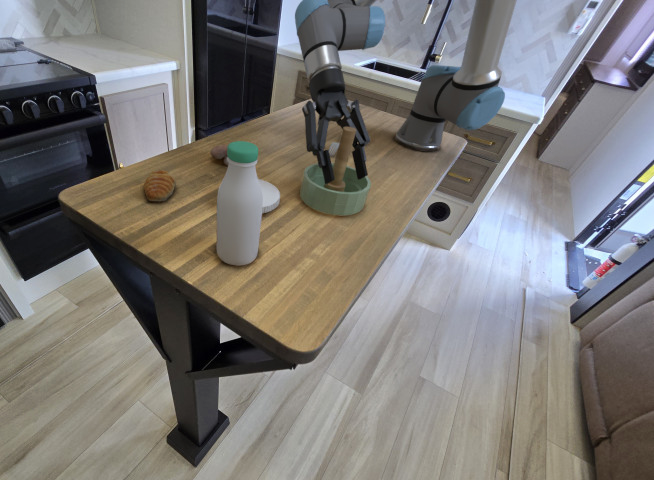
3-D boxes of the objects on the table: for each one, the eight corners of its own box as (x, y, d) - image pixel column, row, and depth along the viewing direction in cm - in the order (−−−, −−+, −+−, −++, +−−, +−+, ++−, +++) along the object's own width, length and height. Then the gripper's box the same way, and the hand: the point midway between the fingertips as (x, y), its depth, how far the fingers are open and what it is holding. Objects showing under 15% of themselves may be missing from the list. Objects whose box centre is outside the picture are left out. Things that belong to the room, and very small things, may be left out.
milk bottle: (265, 258, 62) (279, 152, 48) (230, 272, 59) (234, 160, 45) (243, 237, 66) (250, 133, 52) (209, 248, 63) (206, 139, 49)
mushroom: (244, 167, 89) (241, 148, 93) (235, 149, 84) (232, 130, 88) (219, 177, 91) (217, 158, 95) (208, 160, 86) (207, 141, 90)
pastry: (172, 205, 72) (170, 188, 70) (140, 203, 71) (137, 187, 69) (176, 184, 79) (175, 169, 76) (147, 183, 78) (145, 167, 75)
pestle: (327, 191, 83) (344, 123, 72) (344, 198, 81) (364, 129, 70) (318, 198, 80) (334, 128, 69) (335, 205, 78) (355, 134, 67)
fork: (349, 144, 116) (351, 136, 114) (333, 157, 100) (336, 147, 99) (341, 142, 117) (344, 133, 115) (325, 154, 101) (327, 145, 99)
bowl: (318, 179, 88) (323, 157, 84) (372, 200, 83) (380, 177, 79) (287, 200, 79) (291, 176, 75) (346, 225, 73) (354, 201, 69)
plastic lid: (283, 193, 81) (284, 183, 79) (272, 223, 71) (274, 213, 69) (228, 182, 82) (228, 173, 80) (210, 211, 72) (210, 200, 70)
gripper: (353, 87, 80) (372, 180, 81) (275, 87, 72) (298, 190, 74) (374, 66, 73) (394, 168, 74) (290, 64, 65) (315, 178, 67)
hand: (346, 179), depth 74 cm, fingers open, 8 cm apart
